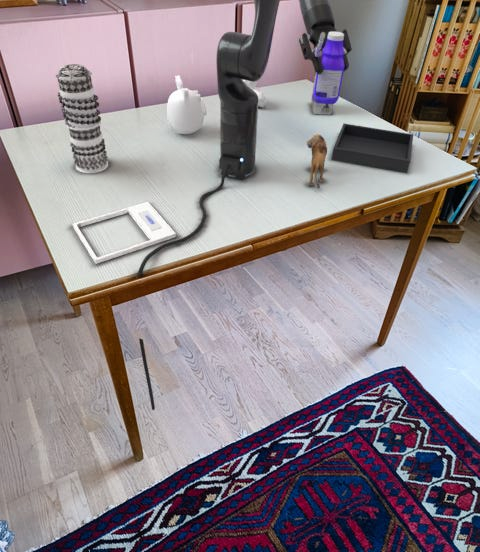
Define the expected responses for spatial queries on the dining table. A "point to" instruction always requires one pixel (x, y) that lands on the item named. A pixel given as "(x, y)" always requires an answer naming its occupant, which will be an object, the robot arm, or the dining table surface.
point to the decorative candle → (82, 118)
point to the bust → (260, 95)
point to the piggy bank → (185, 109)
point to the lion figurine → (317, 157)
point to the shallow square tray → (373, 147)
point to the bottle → (330, 70)
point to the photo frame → (147, 222)
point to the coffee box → (319, 107)
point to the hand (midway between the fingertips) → (333, 71)
